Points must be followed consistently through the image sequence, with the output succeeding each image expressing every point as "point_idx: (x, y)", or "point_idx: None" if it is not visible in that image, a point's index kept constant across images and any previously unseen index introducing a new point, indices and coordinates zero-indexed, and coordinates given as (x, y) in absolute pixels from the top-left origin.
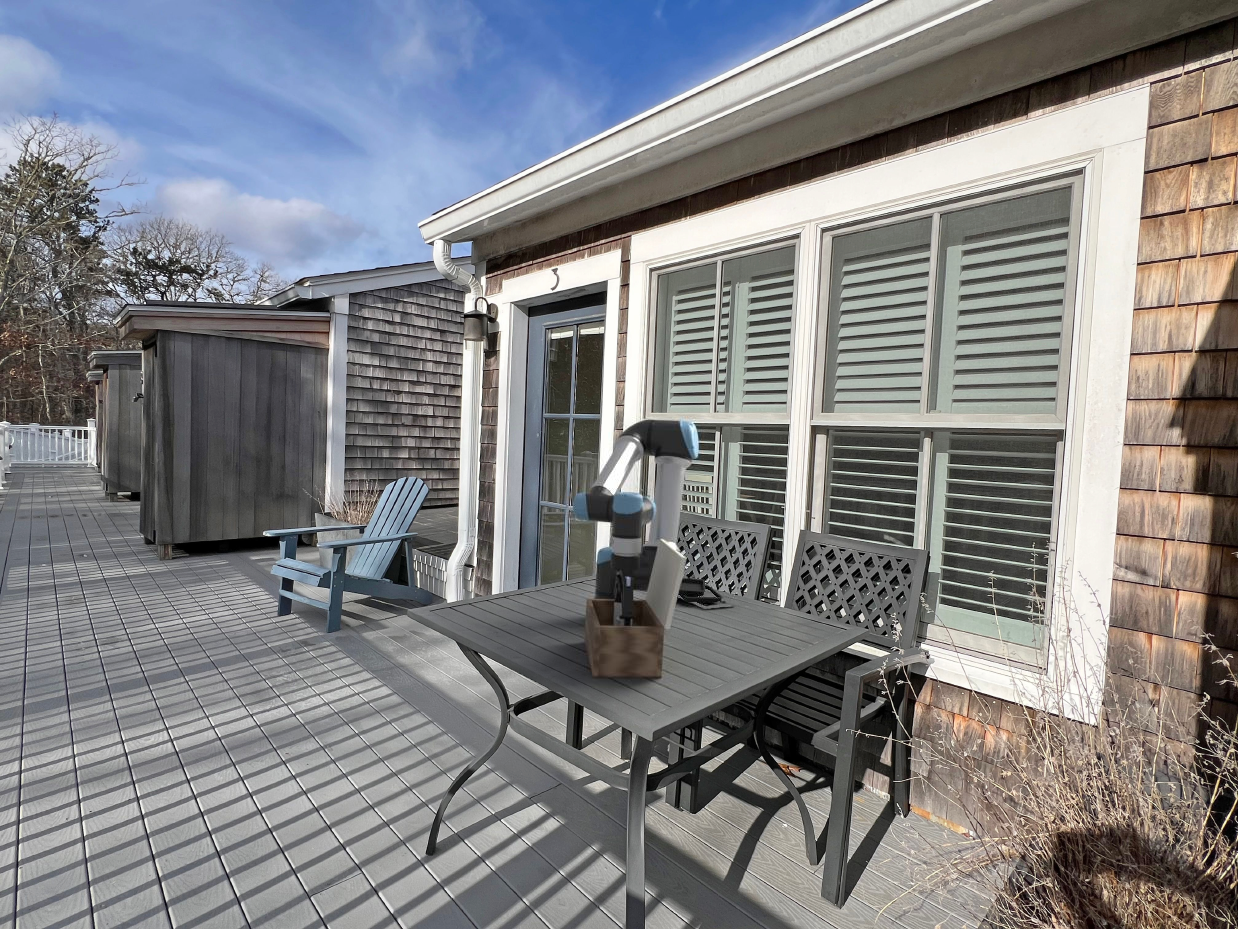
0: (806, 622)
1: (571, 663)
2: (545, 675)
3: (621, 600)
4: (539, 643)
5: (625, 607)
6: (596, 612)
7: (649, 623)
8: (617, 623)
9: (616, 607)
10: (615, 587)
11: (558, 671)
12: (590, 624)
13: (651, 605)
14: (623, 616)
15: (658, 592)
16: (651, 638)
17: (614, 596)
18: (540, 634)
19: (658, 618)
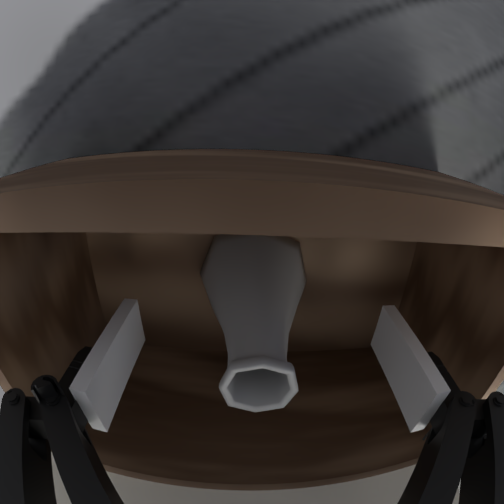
0: None
1: (201, 78)
2: (93, 12)
3: (100, 498)
4: (425, 16)
5: (2, 442)
6: (499, 253)
7: (241, 448)
8: (254, 348)
9: (421, 383)
10: (496, 462)
11: (121, 41)
12: (234, 164)
13: (335, 493)
14: (8, 394)
15: None
16: None
17: (489, 402)
18: (494, 56)
19: (153, 484)
